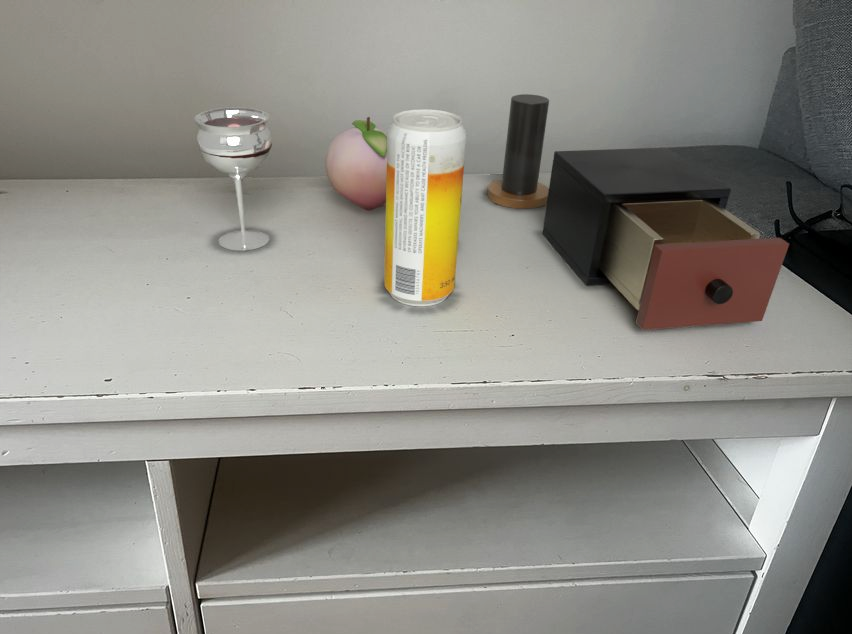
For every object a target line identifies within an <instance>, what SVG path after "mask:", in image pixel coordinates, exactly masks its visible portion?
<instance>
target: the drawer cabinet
mask: <svg viewBox="0 0 852 634" xmlns="http://www.w3.org/2000/svg"><path fill="white" fill-rule="evenodd" d="M548 189H549V192H548V198H547V204H545V205H546V206H545V213H544V220H543V227H542V235H543V236H544V237H545V239H546V240H547V241H548V242H549V243H550V244H551V245H552V247H553V248H554V250H556V251H557V253H558V254H559V255H560V256H561V257H562V258H563V260H564V261H565V262H566V263H567V265H568V266H569V267H570V268H571V269H572V270H573V271H574V272H575V274H576V275H577V277H578V278H579V279H581V281H582V282H583V283H584V284H585V286H587V287H589V286H591V287H592V286H605V285H614V284H613V283H612V282H611V281H610V280H609V279H608V278H607V277H606V276H605V275H604V274H603V273H602V271H601V270H600V269H599V268H598V267H599V262H600V257H601V252H602V247H603V242H604V237H605V232H606V227H607V222H608V217H609V212H610V207H611V203H619V202H640V201H662V200H683V199H705V198H709V199H711V200H712V201H714V202H715V203H716V204H718V205H719V206H721V207H722V208H724V209H725V210H727V209H726V208H727V206H728V202H729V198H730V195H731V191H732V189H731V187H729V186H727V185H725V184H724V183H723V182H721V181H720V180H718V179H716V178H714V177H713V176H712V175H710V174H708V173H707V172H705V171H703V170H702V169H701V168H699V167H698V166H696V165H694V164H692V163H691V162H689V161H688V160H686V159H685V158H683V157H682V156H680V155H678V154H677V153H675V152H673V151H672V150H670V149H669V148H667V147H640V148H639V147H638V148H637V147H636V148H617V149H616V148H613V149H612V148H611V149H585V150H584V149H582V150H580V149H579V150H556V151H554V153H553V159H552V165H551V172H550V179H549V186H548Z"/></svg>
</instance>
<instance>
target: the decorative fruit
mask: <svg viewBox="0 0 852 634" xmlns="http://www.w3.org/2000/svg"><path fill="white" fill-rule="evenodd" d="M351 125H352V126H353V127H350V128H348V129H346V130H344V131H342V132H340V133H339V134H337V135H336V136H335V137H334V138H333V139H332V141H331V142H330V144H329V145H328V148H327V150H326V152H325V158H324V159H325V172H326V177H327V180H328V182H329V184H330V185H331V187H332V188H333V189H334V191H335V192H336V193H337V194H338V195H339V196H341V197H343V198H344V199H346V200H348V201H349V202H350V203H352V204H354V205H356V206H358V207H361V208H364V209H365V211H371V210H375V209H377V208H379V207H383V206H384V205H386V175H387V132H385V131H384V130H383V129H381V128H379V127H378V126H377V125H376V124H375V123H373V121H371V117H370V116H367V117H366V120H361V119H356V120H354V121H353V122H352V123H351ZM376 126H377V127H376Z"/></svg>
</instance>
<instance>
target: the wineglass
mask: <svg viewBox="0 0 852 634" xmlns="http://www.w3.org/2000/svg"><path fill="white" fill-rule="evenodd" d="M269 119H270V114H269V113H268V112H266V111H264V110H261V109H259V108H251V107H239V106H237V107H234V106H233V107H232V106H231V107H219V108H212V109H208V110H205V111H204V110H203V111H202V112H200V113H197V114H196V115H195V116H194V122H195V123H196V125H197V126H198V128H199V129H198V131H197V133H196V144H197V148H198V151H199V154H200V156H201V157H202V159H203V160H204V161H205V162H207V163H208V164H209V165H210V166H211V167H213V168H214V169H215V170H216V171H219V172H221V173H224V174H228V176H229V178H230V179H231V180H233V183H234V191H235V196H236V204H237V211H238V217H239V224H240V225H239V226H240V229H237V230H233V231H232V230H231V231H229V232H227V233H224V234H223V235H221V236H220V237H219V239H218V244H219V246H220V247H222V248H224V249H226V250H230V251H242V252H243V251H252V250H257V249H260V248H262V247H264V246H266V245H267V244H268V243H269V241H270V236H269V235H268V234H267V233H265V232H263V231H261V230H255V229H246V226H245V225H246V221H245V220H246V219H245V202H244V183H243V181H244V179H245V178H246V177H247V175H248V173H251V172H253V171H256V170H257V169H258V168H259V167H260V166H261V165H262V164H263V163H264V162H265V160H267V158H268V157H269V155H270V154H271V153H270V152H271V149H272V147H273V143H272V140H273V138H272V135H271V131H270V129H269V127H268V126H267V124H268V121H269Z"/></svg>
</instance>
